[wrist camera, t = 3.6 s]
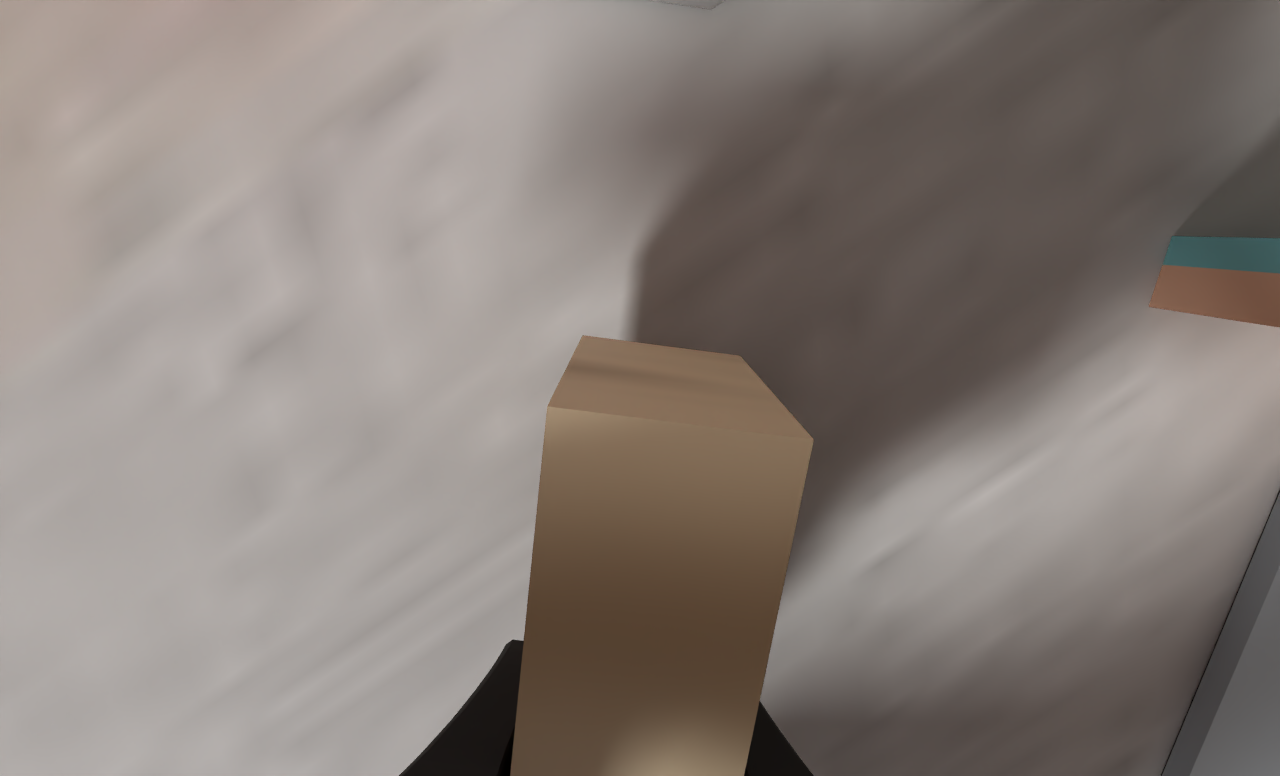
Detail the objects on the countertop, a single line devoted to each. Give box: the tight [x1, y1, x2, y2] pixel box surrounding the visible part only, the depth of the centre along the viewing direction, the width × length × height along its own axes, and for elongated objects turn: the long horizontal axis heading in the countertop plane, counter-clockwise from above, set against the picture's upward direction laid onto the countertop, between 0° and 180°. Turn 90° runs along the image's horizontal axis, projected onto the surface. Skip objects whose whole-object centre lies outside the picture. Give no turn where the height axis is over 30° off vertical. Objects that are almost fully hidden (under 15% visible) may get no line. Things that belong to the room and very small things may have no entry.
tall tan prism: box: [510, 335, 814, 776], centre depth 11 cm, size 10×3×5 cm, turn 172°
